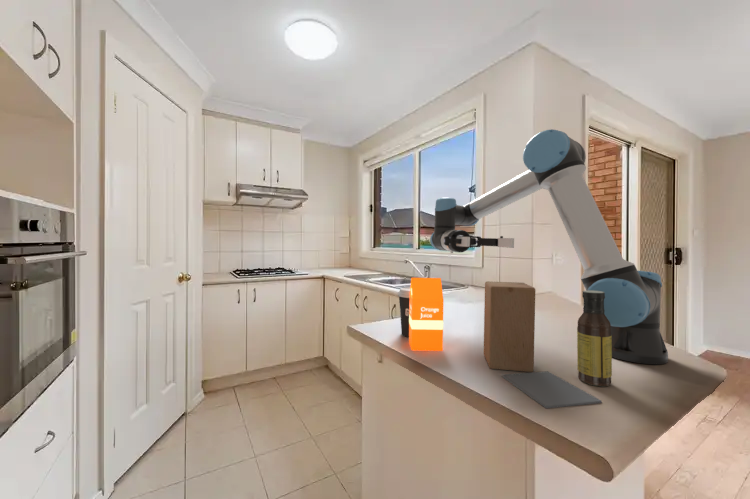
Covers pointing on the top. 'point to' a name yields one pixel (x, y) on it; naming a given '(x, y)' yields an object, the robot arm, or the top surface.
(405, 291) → the coffee cup
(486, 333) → the wooden block
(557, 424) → the top surface
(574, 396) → the mat
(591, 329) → the sauce bottle
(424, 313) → the orange juice
